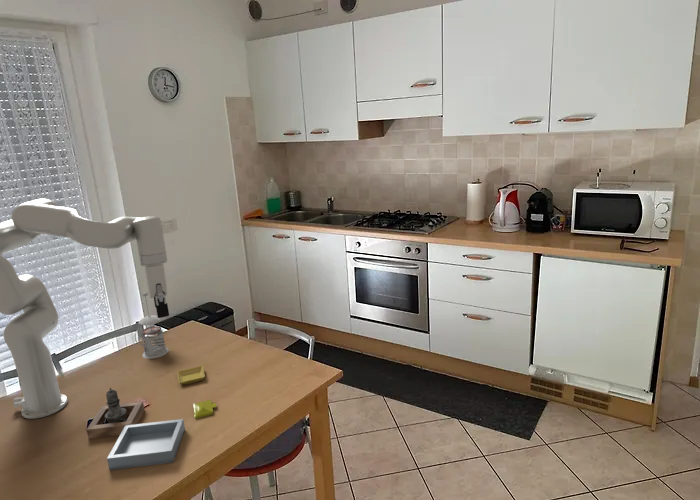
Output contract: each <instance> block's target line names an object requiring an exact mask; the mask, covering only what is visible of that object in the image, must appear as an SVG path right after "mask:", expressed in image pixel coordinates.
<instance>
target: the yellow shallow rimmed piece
mask: <svg viewBox="0 0 700 500" xmlns="http://www.w3.org/2000/svg"><path fill="white" fill-rule="evenodd" d="M205 378H206V374H205V369H204V366H203V365H200V366H196V367H191V368H187V369H182V370H178V371H177V381H178V383H179V384H180V385H182V386H184V385H189V384H194V383H197V382H202V381H203V380H204V379H205Z"/></svg>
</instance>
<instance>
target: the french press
mask: <svg viewBox="0 0 700 500" xmlns="http://www.w3.org/2000/svg"><path fill="white" fill-rule="evenodd" d="M147 296H149V292H145V291H144V292H143V293H142V297H145V302H146V308H147V310H149V306H148V302H147V301H148V300H147ZM147 314H148V315H146V316H144V317H142V318H141V319H139V321H138V324H139V325H140V326H147V327H146V328H144V327H138V328H137V329H136V330H135V333H134V339H135V342H136V344H137V345H139V346H142V347H143V351H144V352H143V353H142V355H141V357H142V358H144V359H148V360H149V359H150V360H152V359H157V358H161V357H164V356H165V355H167V354H168V353H169V351H170V350H169V348H168V347H166V343H165V337H164V331H163V330H162V327H161V326H157V325H155V326H152V325H154V324H157V323H158V322H160V321H161V320H162V319H161V318H158V316H157V314H154V315H150V312H149V311H147ZM139 329H140V330H139ZM138 330H139V331H138ZM137 332H138V334H137ZM140 332H141V339H142V344H141V342H140V339H139V336H140V335H139V334H140ZM136 336H137V337H136Z"/></svg>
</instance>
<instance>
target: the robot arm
mask: <svg viewBox="0 0 700 500" xmlns="http://www.w3.org/2000/svg"><path fill="white" fill-rule="evenodd" d="M40 235H49V236H56V237H63V238H67V239H70V240H71V241H74V242H76V243H78V244H80V245H83V246H87V247H94V248H100V249H109V250H111V249H113V250H114V249H120V248H121V247H124V246H125V245H126V244H129V243H130V242H133V241H135V240H136V246H137V252H138V258H139V263H140V266H141V267H144V273H145V279H146V285H147V290H148V296H149V298H150V299H153V302H154V308H156V316H158V318H167V317H169V316H170V312H169V306H168V302H167V298H166V296H167V295H168V288H167V278H166V271H165V270H166V269H165V264H166V263H167V262H168V255H167V250H166V243H165V237H164V231H163V225H162V220H161V218H160V217H159V216H156V215H148V216H141V217H137V216H120V217H117V218H115V219H113V220H111V221H108V222H103V221H97V220H92V219H91V220H90V219H87V218H84V217H82V216H81V214H80V211H78V210H77V209H75V208H72V207H63V206H59V205H58V204H57V203H56V202H55V201H52V200H50V199H47V198H38V199H33V200H30V201H29V200H28V201H26V202H23V203H21V204H20V203H19V205H17V206H16V207H15V208H14V209H13V211H12V213H11V218H10V219H9V220H5V221H2V222H0V314H2V315H5V316H9V315H10V316H11V315H15V314H17V313H19V312H21V311H23V313H21V314H19V315H18V316H16V317H14V318H13V319H12V320H11V321H9V322H8V323H7V325H6V326H5V328H4V330H3V339H4V343H6V346H7V348H8V350H9V352H10V354H11V356H12V359H13V362H14V363H13V364H14V365H15V369H16V372H17V376H18V382H19V385H20V387H21V392H22V395H23V396H19V397H14V398H13V400H12V402H13V407H14V408H17V407H19V408H20V407H22V409H21V411H20V413H21V416H22V417H23V418H25V419H29V420H30V419H31V420H35V419H42V418H45V417H47V416H51V415H53V414H55V413H57V412H59V411H60V410H62V409H63V408H65V406H66V405H67V403H68V401H69V400H68V397H67V395H65V394H62V393H61V391H60V387H59V382H58V378H57V373H56V371H55V366H54V365H55V364H54V361H53V359H52V354H51V351H50V349H49V347H48V346H47V345H46V344H45V342H44V341H43V339H44V338H45V337H46V336H47V335H49V333H51V332H52V331H53V330H55V329H56V327H57V326H58V324H59V314H58V310H57V309H56V306H55V304H54V302H53V301H52V298H51V296H50V293H49V292H48V290H47V289H48V288H46V286H45V284H44V283H43V281H42V280H41V279H39V277H37V276H35V275H32V274H28V273H27V274H20V275H18V274H17V272H16V270H15V267H14V266H13V265H12V263H11V262H10V261H9V260H8V259H7V258H5V256H3V255H4V254H6V253H8V252H10V251H13V250H15V249H17V248H18V249H19V248H20V247H23V246H25V245H28V244H29V243H30V242H32V241H33V240H35V239H36V238H38V237H39V236H40Z"/></svg>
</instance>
